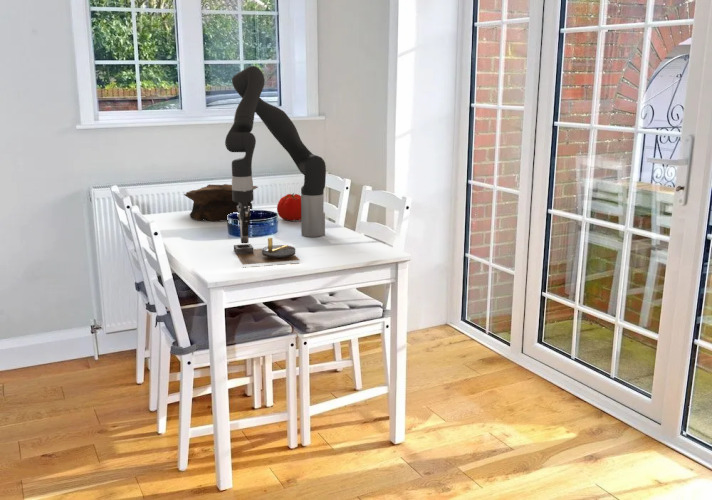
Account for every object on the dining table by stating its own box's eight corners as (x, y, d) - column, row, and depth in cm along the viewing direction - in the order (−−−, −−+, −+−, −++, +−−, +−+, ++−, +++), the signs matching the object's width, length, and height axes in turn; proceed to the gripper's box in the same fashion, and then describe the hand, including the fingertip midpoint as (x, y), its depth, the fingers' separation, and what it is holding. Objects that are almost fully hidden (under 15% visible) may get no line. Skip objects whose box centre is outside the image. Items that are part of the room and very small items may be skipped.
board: (287, 249, 270) (287, 241, 269) (299, 263, 251) (299, 254, 250) (233, 253, 263) (233, 244, 262) (242, 267, 245) (242, 258, 244)
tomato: (280, 216, 330) (280, 191, 327) (310, 217, 328) (310, 192, 325) (273, 222, 317) (273, 196, 314) (304, 223, 315) (304, 197, 312)
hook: (250, 241, 262) (249, 211, 259) (252, 242, 259) (250, 213, 256) (237, 242, 260) (236, 212, 257) (238, 243, 258) (237, 214, 255)
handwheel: (255, 254, 252) (254, 236, 251) (274, 247, 263) (274, 230, 261) (282, 259, 247) (282, 241, 245) (301, 251, 257) (301, 234, 255)
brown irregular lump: (175, 225, 317) (171, 192, 314) (199, 214, 350) (196, 184, 347) (250, 221, 313) (246, 187, 310) (267, 210, 345) (264, 179, 343)
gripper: (228, 185, 260) (231, 231, 264) (235, 192, 247) (237, 240, 251) (249, 184, 262) (251, 230, 267) (256, 190, 249) (258, 238, 254)
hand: (244, 234), depth 259 cm, fingers closed on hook, 2 cm apart
